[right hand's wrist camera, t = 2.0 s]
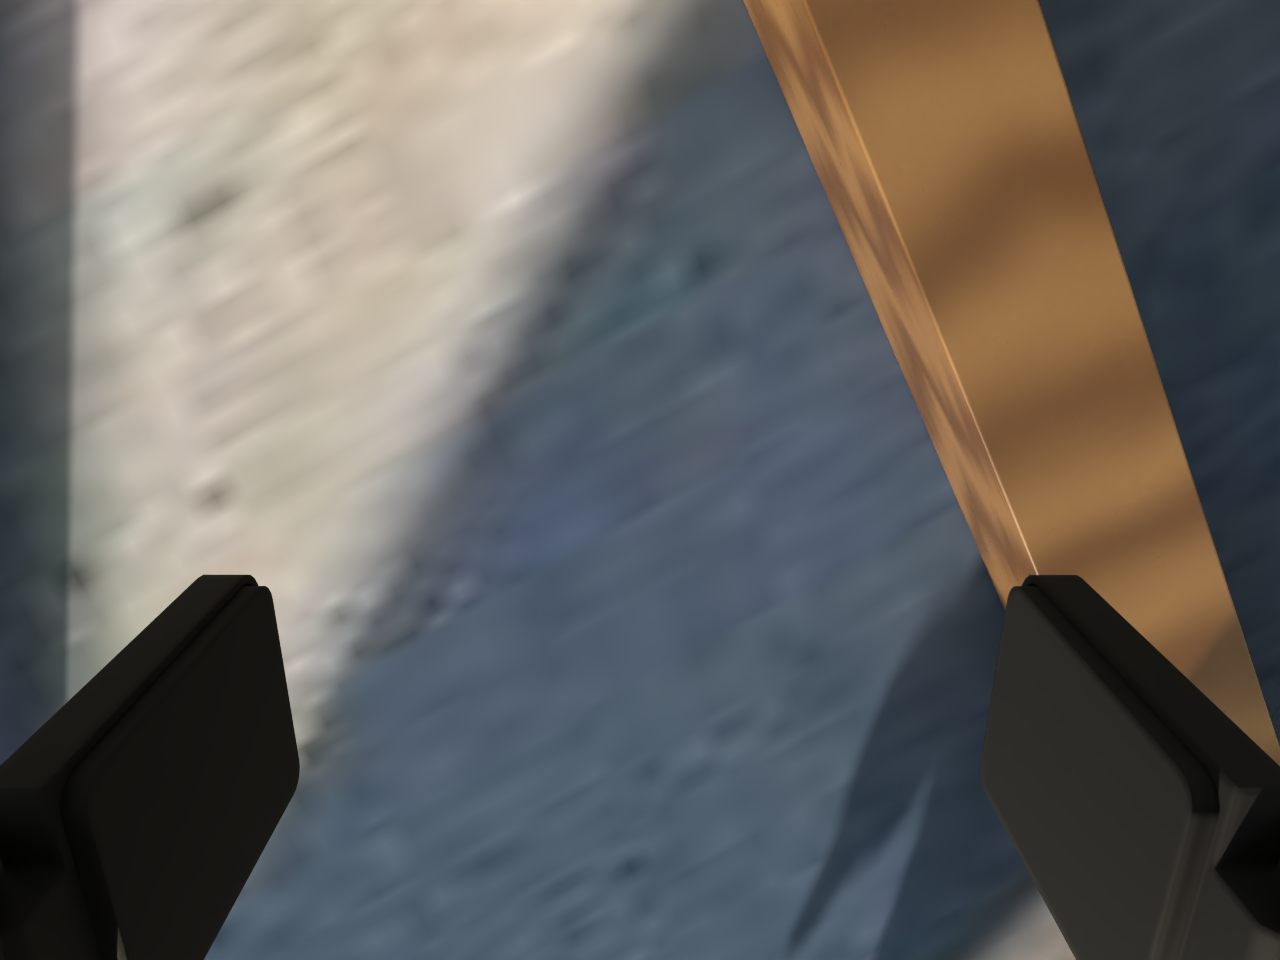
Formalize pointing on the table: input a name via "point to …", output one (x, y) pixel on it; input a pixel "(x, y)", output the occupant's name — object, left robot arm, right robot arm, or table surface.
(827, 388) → the table surface
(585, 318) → the table surface
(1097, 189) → the post
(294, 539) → the table surface
